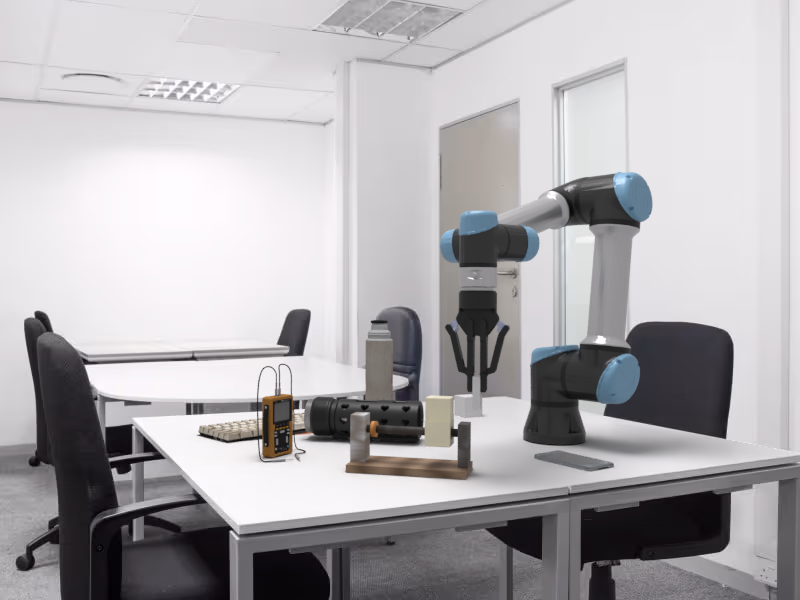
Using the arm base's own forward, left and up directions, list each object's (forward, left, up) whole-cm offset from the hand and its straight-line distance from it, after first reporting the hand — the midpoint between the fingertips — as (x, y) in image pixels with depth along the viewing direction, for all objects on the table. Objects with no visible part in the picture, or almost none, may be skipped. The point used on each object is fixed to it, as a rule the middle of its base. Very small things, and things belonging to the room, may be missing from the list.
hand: (476, 408), depth 155 cm
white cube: (+12, -74, -13) cm, 76 cm away
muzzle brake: (+31, -29, -13) cm, 45 cm away
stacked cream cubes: (+7, 0, -8) cm, 11 cm away
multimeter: (+41, -6, -13) cm, 44 cm away
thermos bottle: (+37, -66, -13) cm, 77 cm away
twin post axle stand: (+13, 0, -13) cm, 19 cm away
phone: (-18, -17, -14) cm, 28 cm away
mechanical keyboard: (+57, -36, -14) cm, 69 cm away
